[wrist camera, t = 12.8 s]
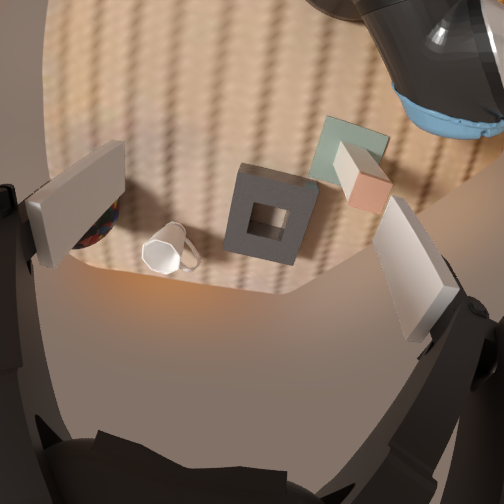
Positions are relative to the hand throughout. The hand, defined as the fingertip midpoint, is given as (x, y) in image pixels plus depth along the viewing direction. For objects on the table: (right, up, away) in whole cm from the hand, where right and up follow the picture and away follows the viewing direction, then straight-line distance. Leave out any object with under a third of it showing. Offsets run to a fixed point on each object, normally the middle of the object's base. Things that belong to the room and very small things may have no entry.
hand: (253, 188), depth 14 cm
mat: (+15, +12, +30) cm, 35 cm away
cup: (-13, 0, +42) cm, 44 cm away
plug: (+14, +11, +30) cm, 35 cm away
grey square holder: (+3, +4, +37) cm, 37 cm away
